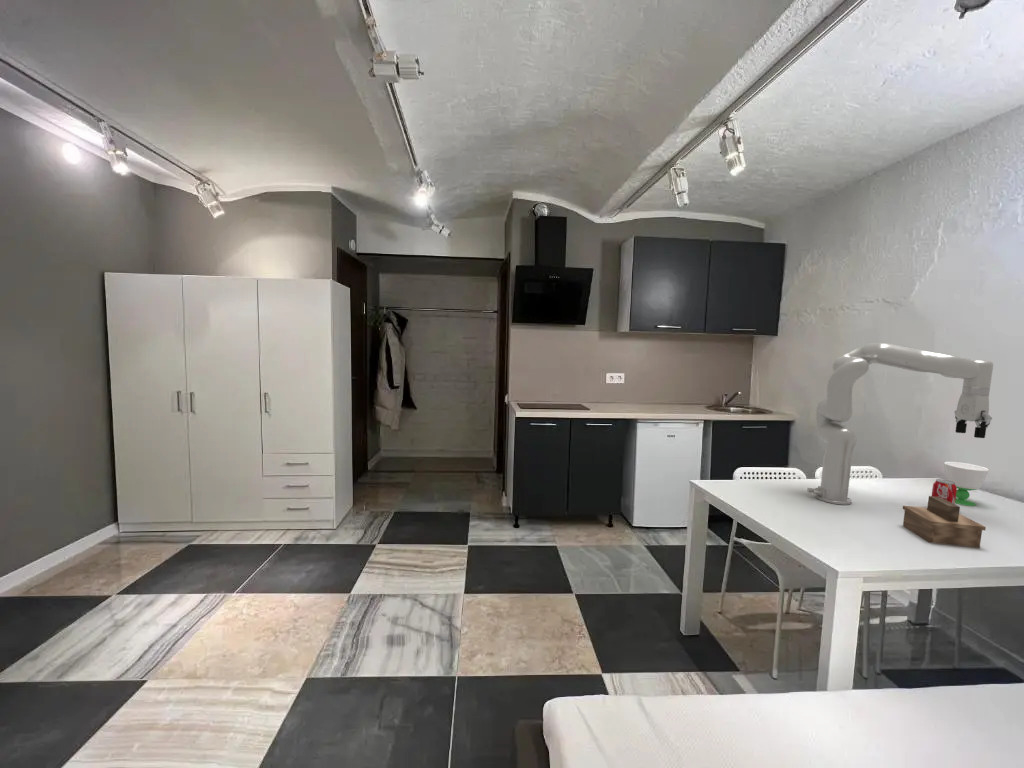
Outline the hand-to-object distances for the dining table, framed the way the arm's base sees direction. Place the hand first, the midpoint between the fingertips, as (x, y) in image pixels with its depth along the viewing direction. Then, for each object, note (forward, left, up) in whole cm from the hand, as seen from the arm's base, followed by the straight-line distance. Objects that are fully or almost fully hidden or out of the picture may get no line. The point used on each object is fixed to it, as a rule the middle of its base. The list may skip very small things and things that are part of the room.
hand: (969, 435), depth 182 cm
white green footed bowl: (+10, +15, -31) cm, 36 cm away
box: (-27, -34, -31) cm, 53 cm away
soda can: (-6, 0, -31) cm, 32 cm away
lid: (-27, -34, -24) cm, 50 cm away
